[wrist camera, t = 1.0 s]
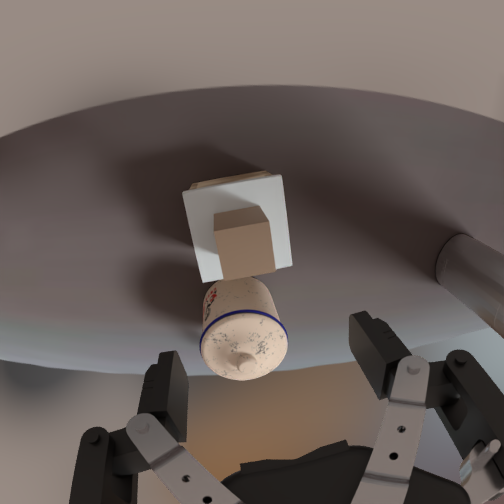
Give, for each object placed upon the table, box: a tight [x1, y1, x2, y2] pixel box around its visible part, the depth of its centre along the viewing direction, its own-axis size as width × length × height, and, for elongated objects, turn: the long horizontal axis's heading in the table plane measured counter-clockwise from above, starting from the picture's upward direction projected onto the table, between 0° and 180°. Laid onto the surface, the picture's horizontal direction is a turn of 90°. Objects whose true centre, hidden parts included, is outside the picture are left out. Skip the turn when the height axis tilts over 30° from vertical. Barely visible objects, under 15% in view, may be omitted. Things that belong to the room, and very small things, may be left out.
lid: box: [182, 174, 292, 283], centre depth 25 cm, size 9×9×7 cm
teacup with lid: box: [200, 277, 288, 381], centre depth 33 cm, size 12×9×12 cm
